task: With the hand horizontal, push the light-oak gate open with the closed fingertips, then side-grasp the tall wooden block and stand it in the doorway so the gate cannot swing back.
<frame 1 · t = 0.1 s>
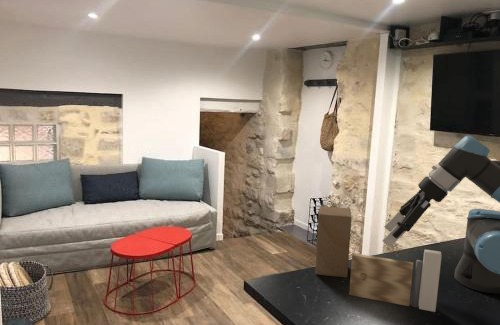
hand: (386, 236, 119), 15 cm above the kitchen counter, tool tilted 35°, fingers open, 13 cm apart
wall stub: (426, 308, 108), on the kitchen counter
gate: (380, 280, 111), point 6 cm above the kitchen counter, hinge at 0.0°
wooden block: (331, 270, 131), on the kitchen counter
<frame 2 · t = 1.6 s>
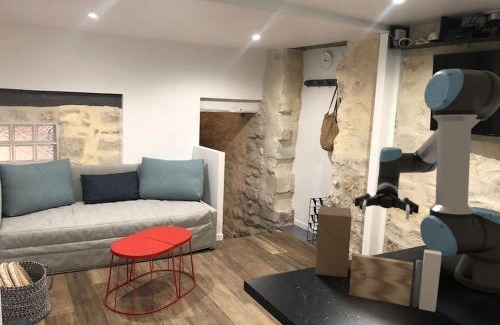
hand: (385, 212, 120), 22 cm above the kitchen counter, tool horizontal, fingers open, 12 cm apart
nothing on the kitchen counter moved.
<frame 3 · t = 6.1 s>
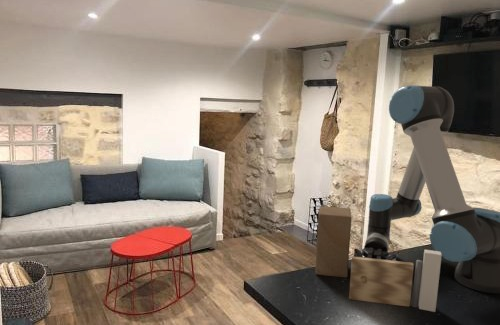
hand: (370, 276, 112), 6 cm above the kitchen counter, tool horizontal, fingers closed
gate: (380, 282, 109), point 6 cm above the kitchen counter, hinge at 8.2°, touching gripper
everything else where it was.
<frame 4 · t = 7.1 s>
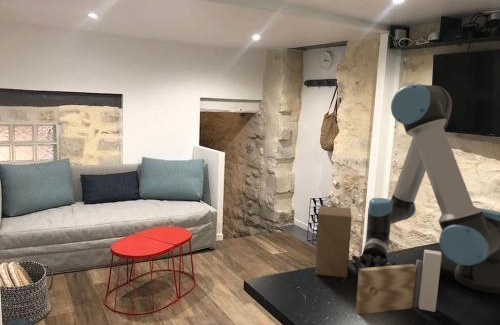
hand: (368, 286, 106), 6 cm above the kitchen counter, tool horizontal, fingers closed
gate: (387, 289, 105), point 6 cm above the kitchen counter, hinge at 34.7°, touching gripper
everything else where it was.
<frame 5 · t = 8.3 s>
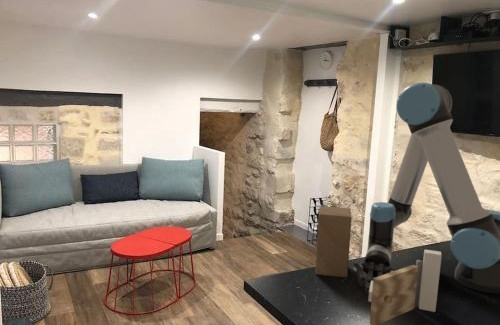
hand: (371, 296, 100), 6 cm above the kitchen counter, tool horizontal, fingers closed
gate: (396, 295, 102), point 6 cm above the kitchen counter, hinge at 53.9°
everything else where it was.
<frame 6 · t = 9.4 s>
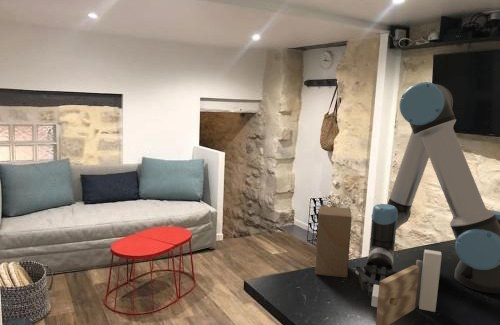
hand: (374, 301, 98), 6 cm above the kitchen counter, tool horizontal, fingers closed
gate: (400, 296, 102), point 6 cm above the kitchen counter, hinge at 59.9°, touching gripper
everything else where it was.
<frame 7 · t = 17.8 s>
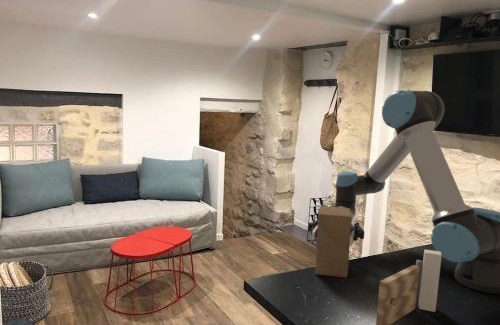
hand: (331, 238, 125), 12 cm above the kitchen counter, tool horizontal, fingers closed on wooden block, 11 cm apart
gate: (400, 296, 102), point 6 cm above the kitchen counter, hinge at 60.0°
wooden block: (331, 270, 131), on the kitchen counter, touching gripper
when the fingers open (13 cm above the kitchen counter, at t = 21.9 s): wooden block drops 2 cm, on the kitchen counter.
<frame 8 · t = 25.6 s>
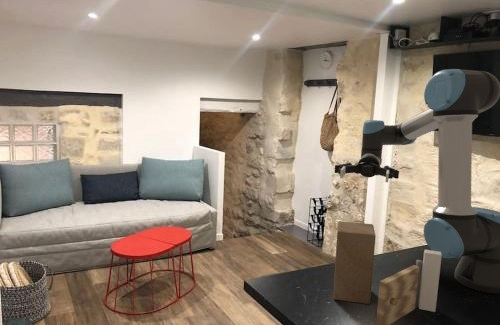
hand: (363, 175, 123), 32 cm above the kitchen counter, tool horizontal, fingers open, 13 cm apart
wooden block: (351, 294, 115), on the kitchen counter
everything else where it was.
at the end: gate at +60° (first picture: +0°); wooden block inside the target area (0.1 cm from its centre), on the kitchen counter; the gripper is holding nothing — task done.
